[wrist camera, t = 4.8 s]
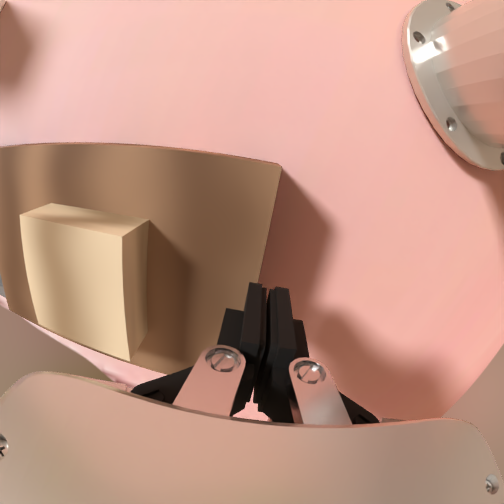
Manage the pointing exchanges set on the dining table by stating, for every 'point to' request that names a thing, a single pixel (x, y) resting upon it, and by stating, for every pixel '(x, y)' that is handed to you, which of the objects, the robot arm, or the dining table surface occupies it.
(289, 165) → the dining table surface
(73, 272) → the tile
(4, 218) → the board
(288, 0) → the dining table surface
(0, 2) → the syrup box
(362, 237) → the dining table surface
